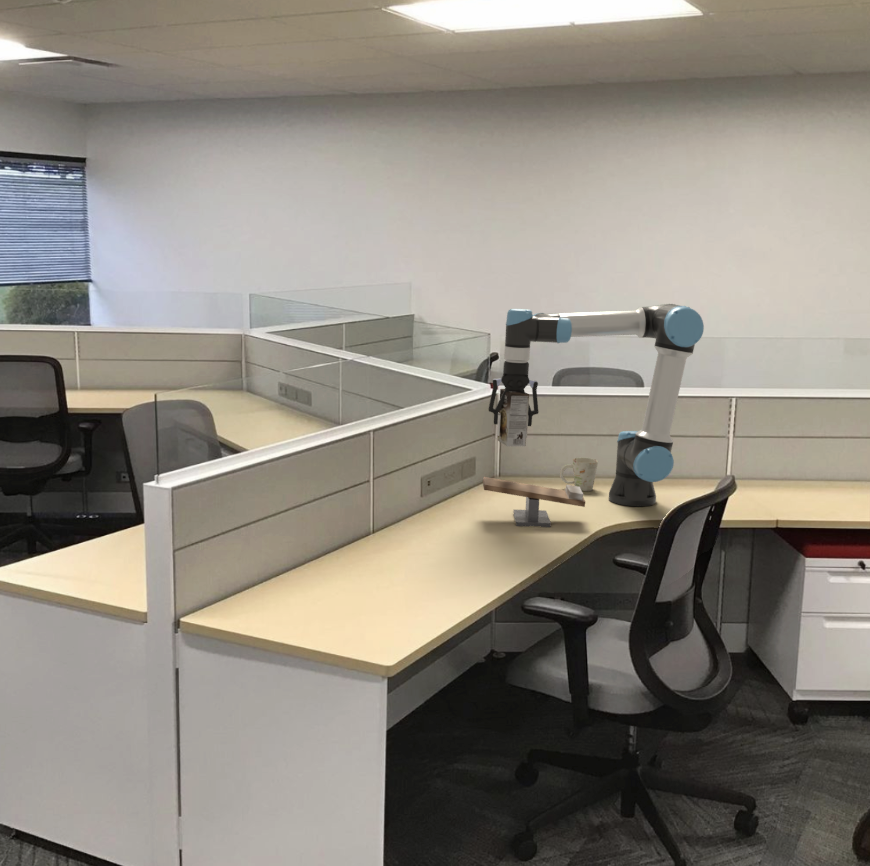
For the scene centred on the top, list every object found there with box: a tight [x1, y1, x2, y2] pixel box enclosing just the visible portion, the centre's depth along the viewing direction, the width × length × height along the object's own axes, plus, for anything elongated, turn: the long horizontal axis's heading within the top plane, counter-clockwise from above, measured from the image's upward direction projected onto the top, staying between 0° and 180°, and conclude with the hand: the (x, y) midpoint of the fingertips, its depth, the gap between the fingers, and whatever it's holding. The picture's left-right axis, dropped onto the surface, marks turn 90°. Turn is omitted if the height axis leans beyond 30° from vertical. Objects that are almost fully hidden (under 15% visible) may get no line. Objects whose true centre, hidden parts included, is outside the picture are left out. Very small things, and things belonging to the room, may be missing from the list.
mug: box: [559, 457, 599, 492], centre depth 340 cm, size 8×13×10 cm, turn 89°
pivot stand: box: [512, 497, 552, 528], centre depth 300 cm, size 10×14×8 cm
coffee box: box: [496, 388, 530, 447], centre depth 303 cm, size 9×6×16 cm
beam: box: [482, 476, 586, 508], centre depth 299 cm, size 30×10×4 cm, turn 90°
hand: (511, 435), depth 304 cm, fingers closed on coffee box, 8 cm apart
